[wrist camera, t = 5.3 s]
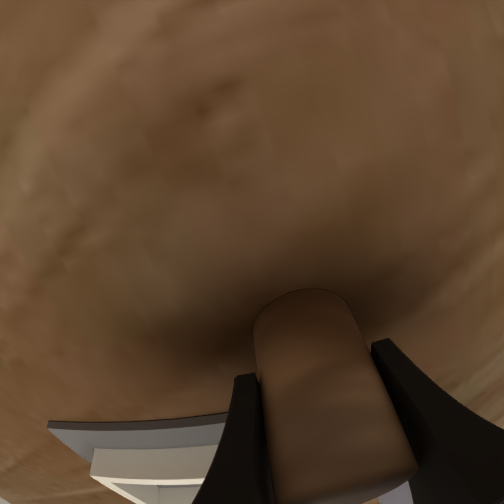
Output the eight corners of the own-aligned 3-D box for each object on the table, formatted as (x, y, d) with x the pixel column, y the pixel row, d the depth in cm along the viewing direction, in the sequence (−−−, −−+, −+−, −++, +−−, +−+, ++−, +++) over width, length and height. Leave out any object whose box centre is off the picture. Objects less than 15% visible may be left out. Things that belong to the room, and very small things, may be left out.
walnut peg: (349, 277, 11) (434, 446, 5) (351, 348, 13) (404, 488, 7) (242, 303, 12) (262, 495, 5) (263, 370, 14) (285, 520, 7)
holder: (255, 408, 15) (261, 454, 13) (289, 482, 22) (294, 509, 20) (48, 421, 16) (38, 455, 13) (143, 492, 23) (141, 516, 20)
